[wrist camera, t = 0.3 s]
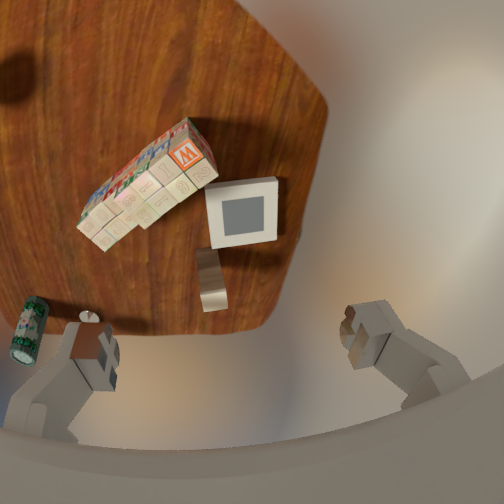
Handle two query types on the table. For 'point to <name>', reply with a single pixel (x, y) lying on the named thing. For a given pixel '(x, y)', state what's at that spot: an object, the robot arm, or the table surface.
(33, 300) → the can
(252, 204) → the plate
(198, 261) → the brown tall block
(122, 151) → the table surface
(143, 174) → the stack of blocks
